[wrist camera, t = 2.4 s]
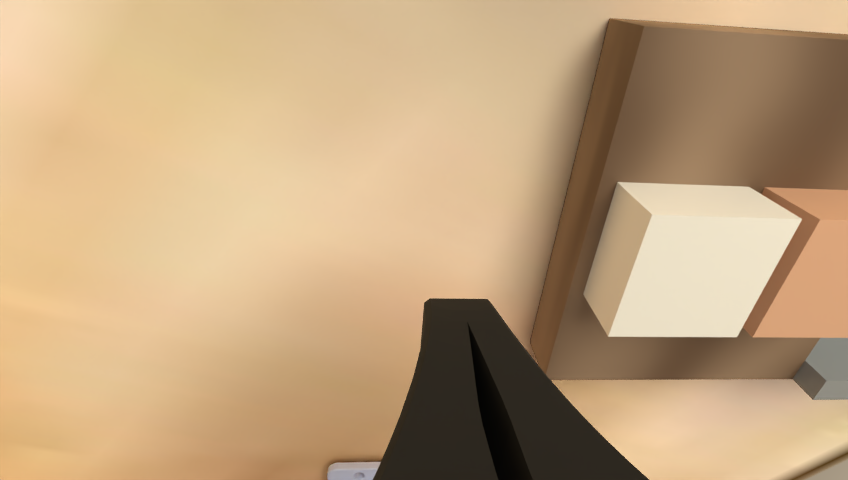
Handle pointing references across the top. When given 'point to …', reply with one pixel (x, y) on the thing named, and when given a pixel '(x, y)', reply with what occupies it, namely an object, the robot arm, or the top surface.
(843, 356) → the tray
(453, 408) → the robot arm
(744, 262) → the ivory tile
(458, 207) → the top surface
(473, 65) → the top surface
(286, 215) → the top surface
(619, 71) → the walnut board
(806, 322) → the terracotta tile
